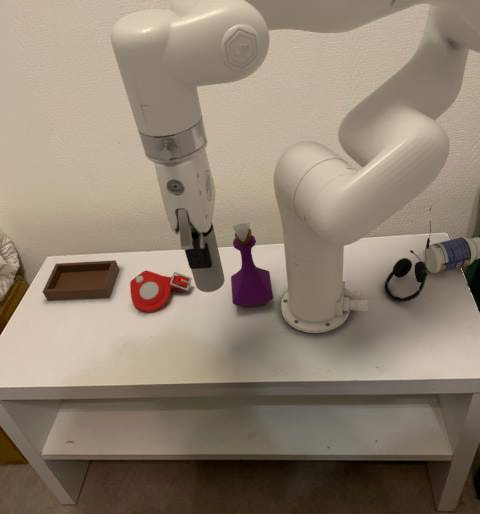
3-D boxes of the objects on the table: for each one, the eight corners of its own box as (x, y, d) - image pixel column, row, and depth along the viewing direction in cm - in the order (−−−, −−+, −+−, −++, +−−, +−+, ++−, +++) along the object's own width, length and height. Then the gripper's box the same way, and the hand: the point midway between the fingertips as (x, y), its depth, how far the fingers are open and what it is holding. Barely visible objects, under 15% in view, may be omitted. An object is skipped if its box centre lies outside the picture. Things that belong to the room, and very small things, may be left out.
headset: (455, 191, 83) (403, 291, 80) (465, 215, 88) (416, 309, 86) (418, 187, 87) (368, 281, 85) (430, 210, 93) (383, 299, 90)
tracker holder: (143, 318, 91) (116, 283, 95) (151, 326, 95) (125, 293, 99) (193, 278, 93) (164, 246, 97) (199, 288, 97) (171, 257, 101)
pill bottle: (439, 272, 86) (490, 260, 87) (433, 243, 86) (484, 231, 87) (426, 275, 92) (474, 263, 92) (420, 247, 92) (468, 236, 92)
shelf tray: (119, 269, 104) (115, 260, 102) (109, 297, 98) (105, 288, 96) (60, 272, 106) (55, 263, 104) (47, 300, 100) (42, 291, 98)
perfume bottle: (233, 288, 95) (218, 213, 82) (270, 283, 95) (261, 206, 81) (235, 315, 90) (219, 241, 77) (274, 310, 90) (265, 234, 76)
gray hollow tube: (205, 269, 76) (192, 215, 68) (230, 276, 74) (219, 222, 66) (190, 288, 73) (174, 234, 66) (215, 296, 71) (201, 242, 64)
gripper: (196, 172, 50) (224, 295, 63) (211, 99, 61) (232, 216, 75) (127, 179, 51) (169, 298, 64) (154, 105, 62) (185, 220, 76)
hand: (203, 253), depth 69 cm, fingers closed on gray hollow tube, 4 cm apart
